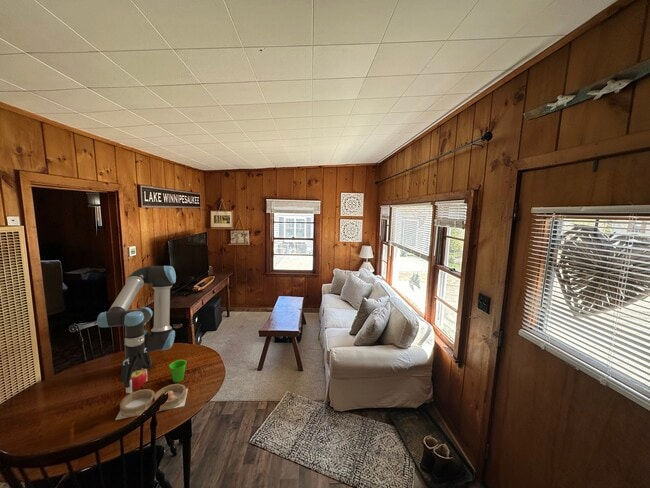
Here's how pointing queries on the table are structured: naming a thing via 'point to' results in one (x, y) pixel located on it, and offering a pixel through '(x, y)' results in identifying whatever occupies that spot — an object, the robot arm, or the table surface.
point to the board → (144, 400)
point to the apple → (138, 378)
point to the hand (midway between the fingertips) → (137, 386)
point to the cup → (178, 370)
